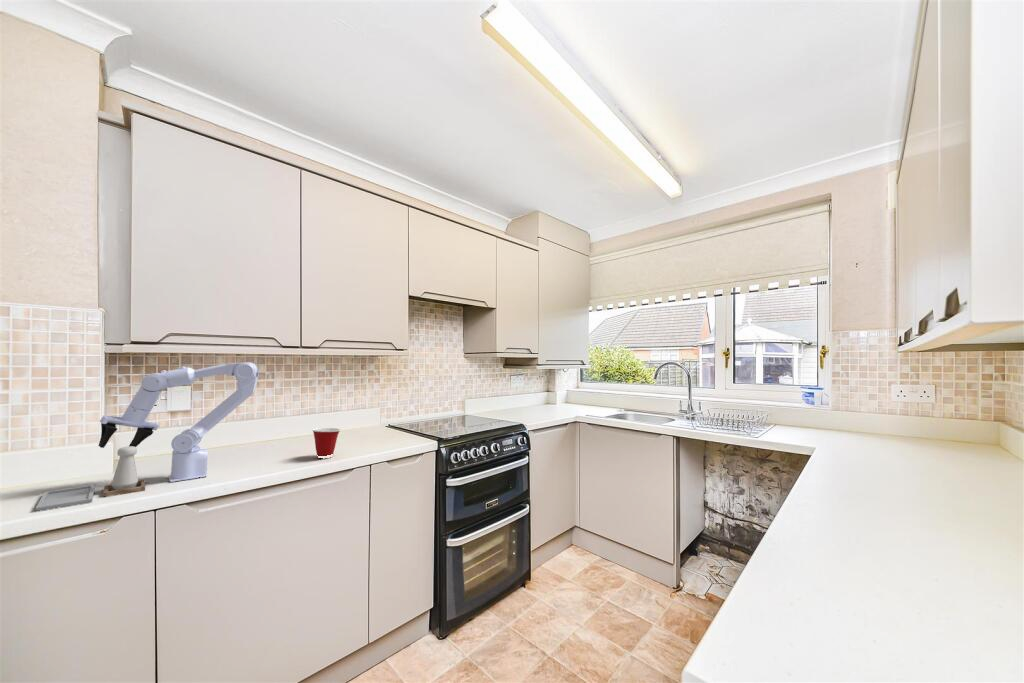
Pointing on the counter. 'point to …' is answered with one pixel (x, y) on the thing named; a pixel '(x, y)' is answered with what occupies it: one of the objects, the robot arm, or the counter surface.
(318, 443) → the plastic cup
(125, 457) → the salt shaker
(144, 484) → the walnut collar
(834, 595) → the counter surface
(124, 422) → the robot arm
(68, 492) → the grey tray
